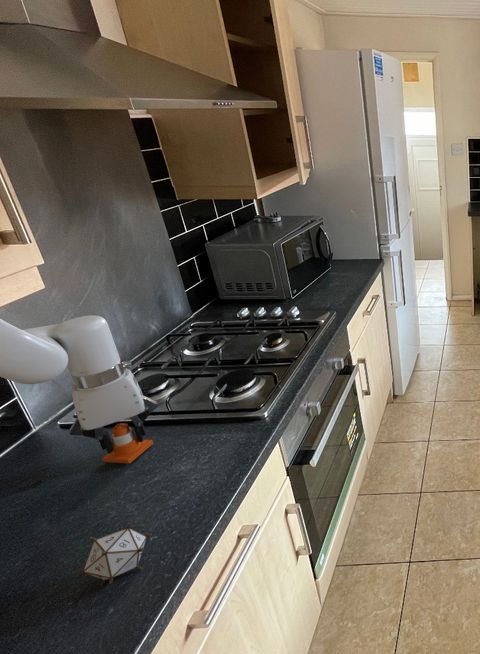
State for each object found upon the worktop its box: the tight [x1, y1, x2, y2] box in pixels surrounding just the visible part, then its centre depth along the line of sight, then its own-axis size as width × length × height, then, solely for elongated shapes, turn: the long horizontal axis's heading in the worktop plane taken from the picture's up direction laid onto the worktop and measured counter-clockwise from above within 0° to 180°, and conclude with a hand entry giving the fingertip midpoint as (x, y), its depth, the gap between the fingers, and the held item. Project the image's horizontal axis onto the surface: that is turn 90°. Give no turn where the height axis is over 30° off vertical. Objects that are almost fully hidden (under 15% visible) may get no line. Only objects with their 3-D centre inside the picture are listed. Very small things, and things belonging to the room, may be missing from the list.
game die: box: [75, 522, 153, 586], centre depth 70 cm, size 9×8×10 cm
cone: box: [102, 422, 154, 465], centre depth 92 cm, size 6×6×8 cm
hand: (125, 443), depth 92 cm, fingers closed on cone, 4 cm apart
